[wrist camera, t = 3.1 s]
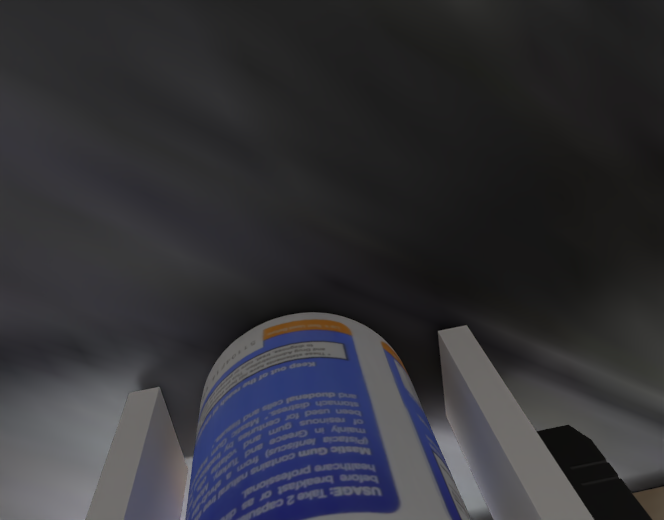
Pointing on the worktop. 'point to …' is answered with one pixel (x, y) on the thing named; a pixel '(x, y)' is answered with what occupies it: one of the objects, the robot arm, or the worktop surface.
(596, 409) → the worktop surface
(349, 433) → the pill bottle
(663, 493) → the board
